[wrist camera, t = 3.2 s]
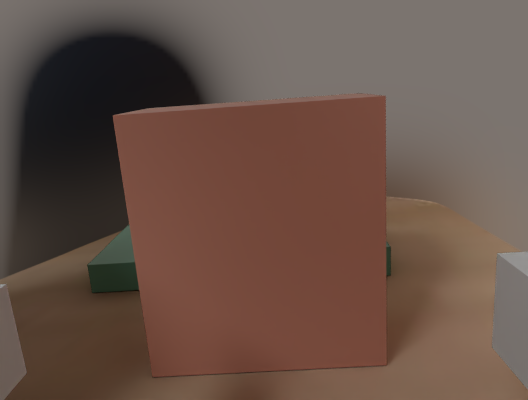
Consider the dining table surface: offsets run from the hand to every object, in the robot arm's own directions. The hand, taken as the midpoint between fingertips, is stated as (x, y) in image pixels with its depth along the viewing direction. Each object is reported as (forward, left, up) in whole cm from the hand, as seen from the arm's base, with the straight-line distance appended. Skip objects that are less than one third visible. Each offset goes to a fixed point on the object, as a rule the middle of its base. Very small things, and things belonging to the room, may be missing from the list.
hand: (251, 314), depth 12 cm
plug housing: (0, +10, -7) cm, 12 cm away
